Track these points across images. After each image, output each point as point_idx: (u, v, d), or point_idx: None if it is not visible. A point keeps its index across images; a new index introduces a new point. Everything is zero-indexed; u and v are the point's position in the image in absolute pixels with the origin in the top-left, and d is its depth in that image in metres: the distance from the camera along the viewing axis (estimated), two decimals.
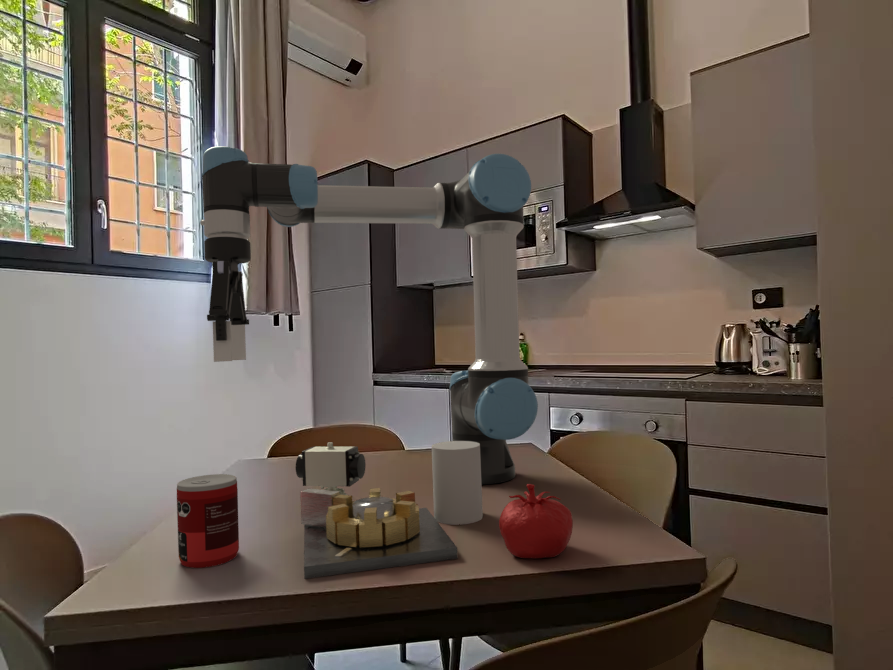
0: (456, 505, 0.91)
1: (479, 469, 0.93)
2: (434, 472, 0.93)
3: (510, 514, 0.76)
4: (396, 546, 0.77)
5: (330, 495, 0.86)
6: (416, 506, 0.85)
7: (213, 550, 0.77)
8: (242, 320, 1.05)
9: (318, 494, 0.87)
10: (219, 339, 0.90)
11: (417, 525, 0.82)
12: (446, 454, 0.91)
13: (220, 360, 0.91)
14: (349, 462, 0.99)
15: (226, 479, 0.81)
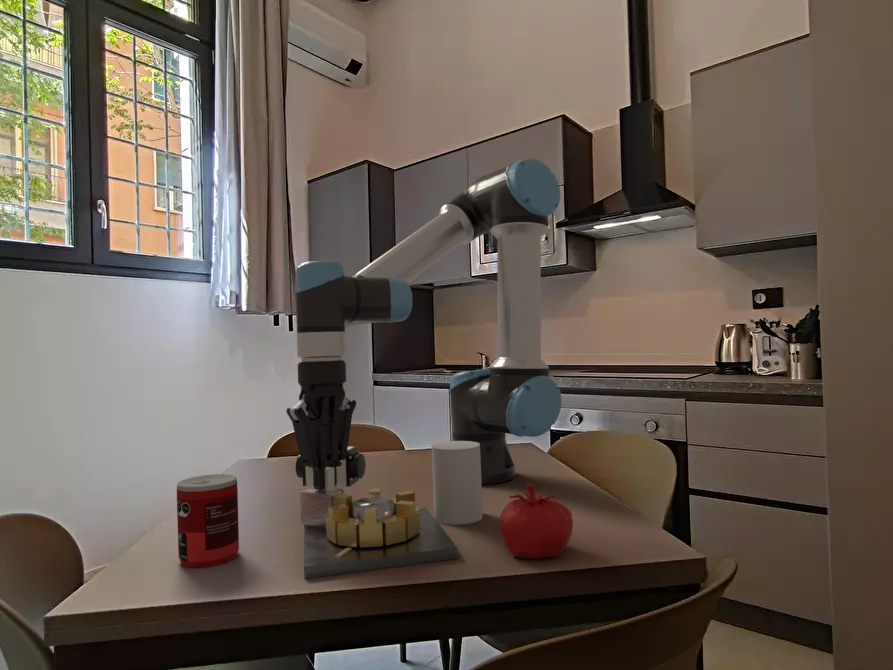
0: (456, 505, 0.91)
1: (479, 469, 0.93)
2: (434, 472, 0.93)
3: (510, 514, 0.76)
4: (396, 546, 0.77)
5: (330, 495, 0.86)
6: (416, 506, 0.85)
7: (213, 550, 0.77)
8: (332, 458, 0.90)
9: (318, 494, 0.87)
10: (316, 488, 0.88)
11: (417, 525, 0.82)
12: (446, 454, 0.91)
13: None
14: (349, 462, 0.99)
15: (226, 479, 0.81)
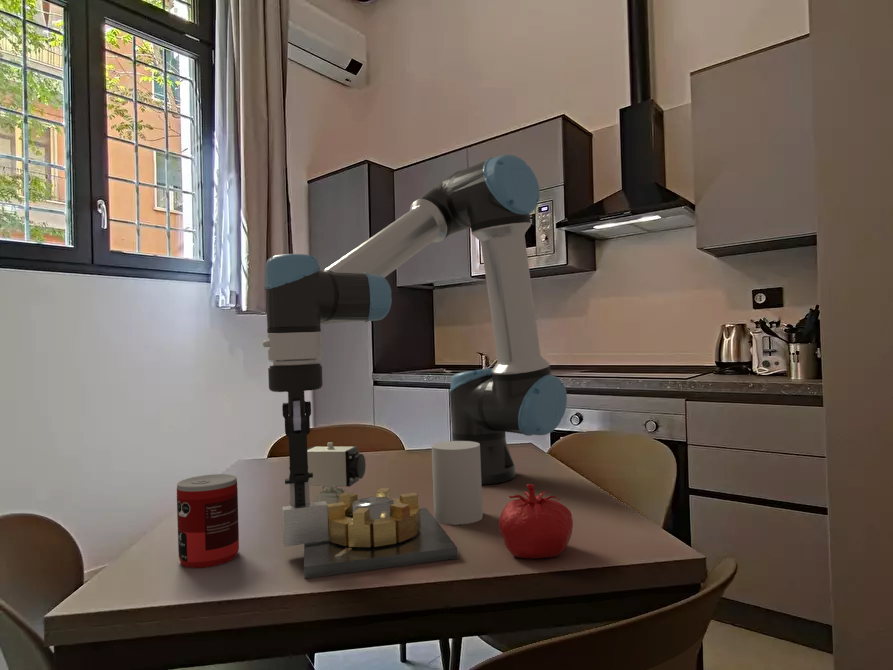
0: (456, 505, 0.91)
1: (479, 469, 0.93)
2: (434, 472, 0.93)
3: (510, 514, 0.76)
4: (396, 546, 0.77)
5: (325, 505, 0.80)
6: (399, 499, 0.89)
7: (213, 550, 0.77)
8: None
9: (309, 508, 0.79)
10: (298, 505, 0.80)
11: None
12: (446, 454, 0.91)
13: None
14: (349, 462, 0.99)
15: (226, 479, 0.81)
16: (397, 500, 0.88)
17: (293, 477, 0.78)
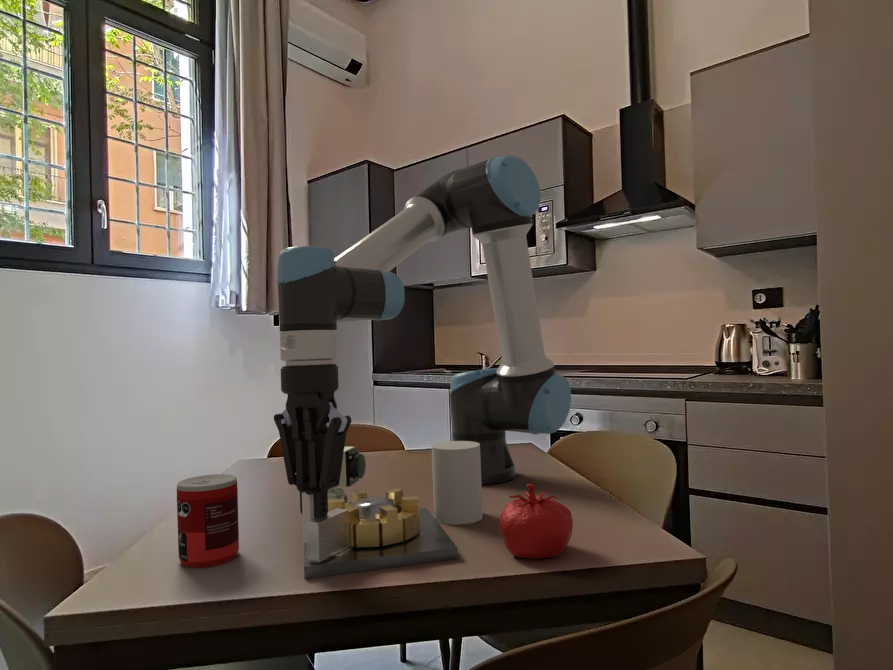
0: (456, 505, 0.91)
1: (479, 469, 0.93)
2: (434, 472, 0.93)
3: (510, 514, 0.76)
4: (396, 546, 0.77)
5: (347, 511, 0.77)
6: None
7: (213, 550, 0.77)
8: None
9: (336, 516, 0.75)
10: (322, 515, 0.74)
11: None
12: (446, 454, 0.91)
13: None
14: (349, 462, 0.99)
15: (226, 479, 0.81)
16: None
17: (328, 484, 0.73)
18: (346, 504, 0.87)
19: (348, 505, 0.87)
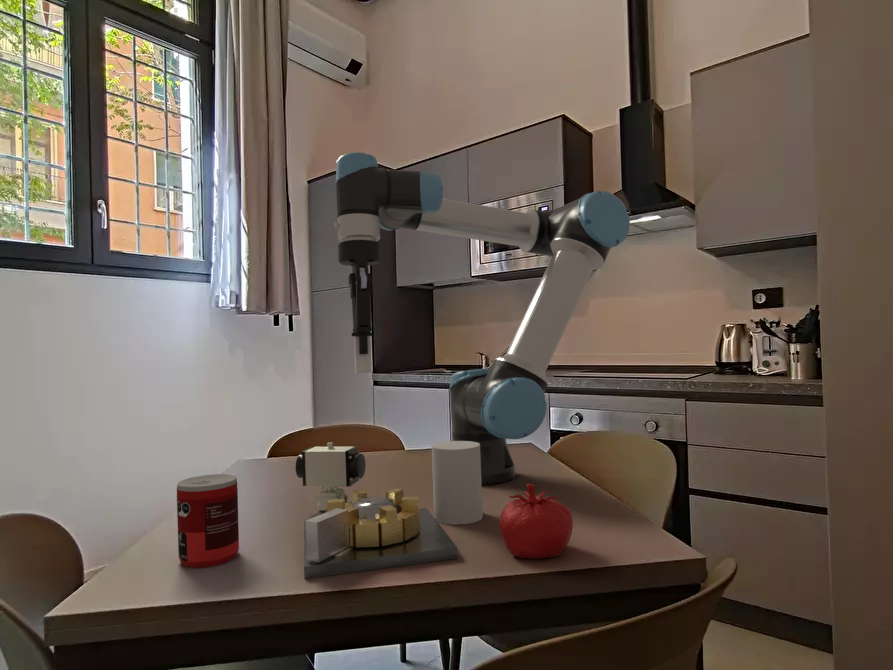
0: (456, 505, 0.91)
1: (479, 469, 0.93)
2: (434, 472, 0.93)
3: (510, 514, 0.76)
4: (396, 546, 0.77)
5: (346, 511, 0.77)
6: None
7: (213, 550, 0.77)
8: None
9: (335, 516, 0.75)
10: (362, 353, 1.00)
11: None
12: (446, 454, 0.91)
13: (362, 372, 1.01)
14: (349, 462, 0.99)
15: (226, 479, 0.81)
16: None
17: (359, 327, 0.98)
18: (346, 504, 0.87)
19: (348, 505, 0.87)
